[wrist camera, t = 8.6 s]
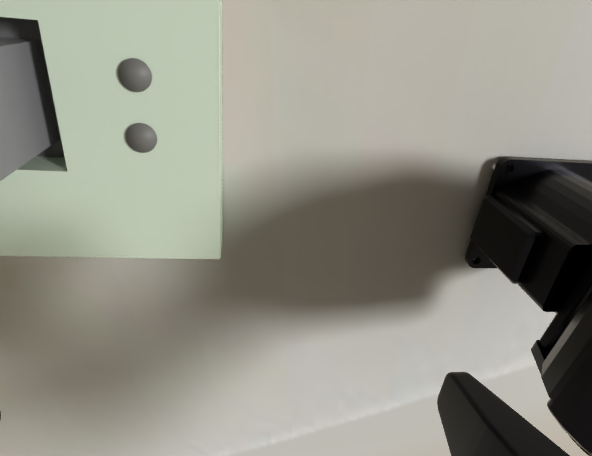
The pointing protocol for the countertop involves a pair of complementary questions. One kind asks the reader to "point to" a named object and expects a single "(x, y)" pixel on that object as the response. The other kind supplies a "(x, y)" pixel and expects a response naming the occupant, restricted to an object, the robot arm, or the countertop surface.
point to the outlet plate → (121, 131)
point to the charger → (23, 104)
